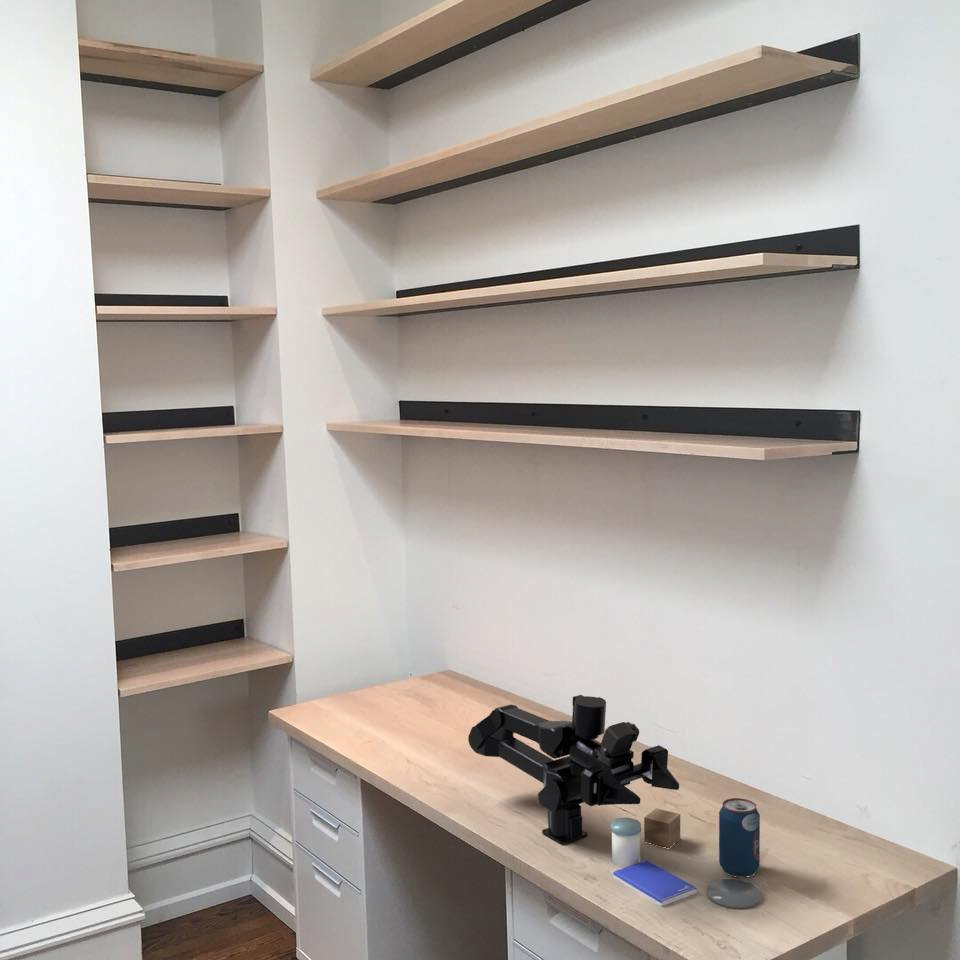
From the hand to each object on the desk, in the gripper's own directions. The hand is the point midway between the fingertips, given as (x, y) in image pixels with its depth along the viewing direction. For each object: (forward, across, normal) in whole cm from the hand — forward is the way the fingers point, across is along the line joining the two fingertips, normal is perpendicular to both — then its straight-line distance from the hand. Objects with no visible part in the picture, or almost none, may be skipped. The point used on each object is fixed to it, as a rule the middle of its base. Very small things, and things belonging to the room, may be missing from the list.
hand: (659, 793), depth 176 cm
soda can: (+6, +15, +16) cm, 23 cm away
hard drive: (+1, -1, +17) cm, 17 cm away
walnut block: (-10, +13, +18) cm, 24 cm away
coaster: (+11, +7, +15) cm, 20 cm away
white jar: (-9, +2, +17) cm, 19 cm away
